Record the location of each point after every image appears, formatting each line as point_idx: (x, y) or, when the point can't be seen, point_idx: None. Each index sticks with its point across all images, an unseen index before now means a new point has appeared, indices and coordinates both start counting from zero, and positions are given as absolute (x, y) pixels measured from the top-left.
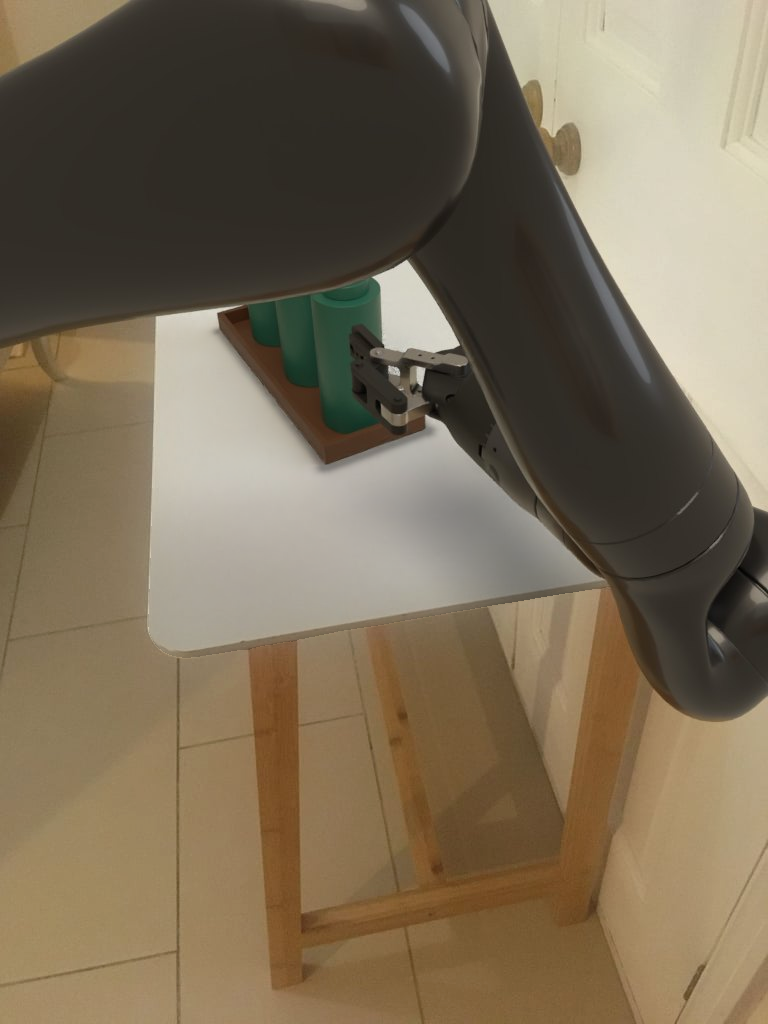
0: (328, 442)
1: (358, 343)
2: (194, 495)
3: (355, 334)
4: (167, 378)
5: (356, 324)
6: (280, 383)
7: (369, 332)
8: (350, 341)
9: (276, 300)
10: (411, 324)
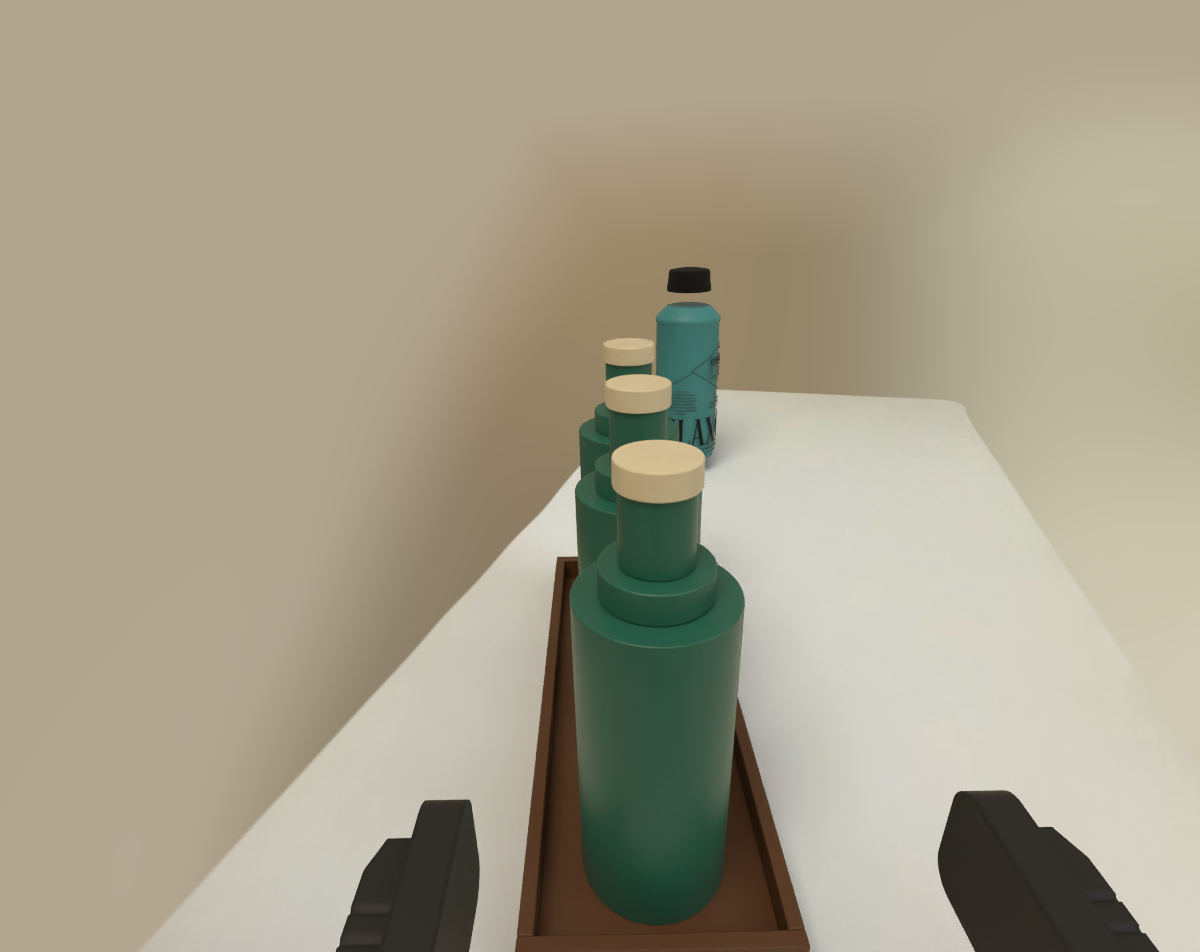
0: (533, 942)
1: (359, 937)
2: (228, 936)
3: (405, 856)
4: (432, 635)
5: (646, 692)
6: (568, 709)
7: (434, 896)
8: (360, 890)
9: (578, 567)
10: (854, 663)
